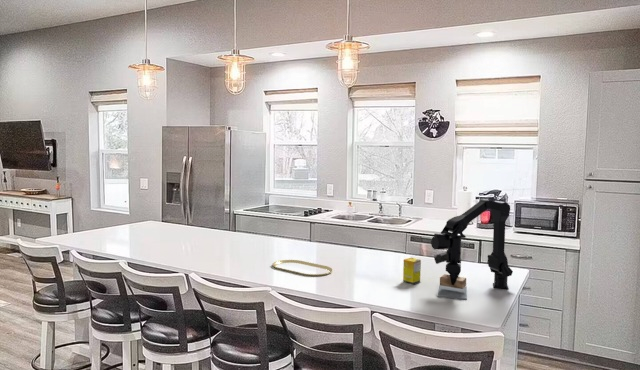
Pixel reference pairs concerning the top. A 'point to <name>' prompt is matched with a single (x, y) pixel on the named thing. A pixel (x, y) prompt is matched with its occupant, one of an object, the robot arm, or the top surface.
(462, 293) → the slate mat
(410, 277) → the supplement box
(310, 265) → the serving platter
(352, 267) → the top surface
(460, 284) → the cardboard box
